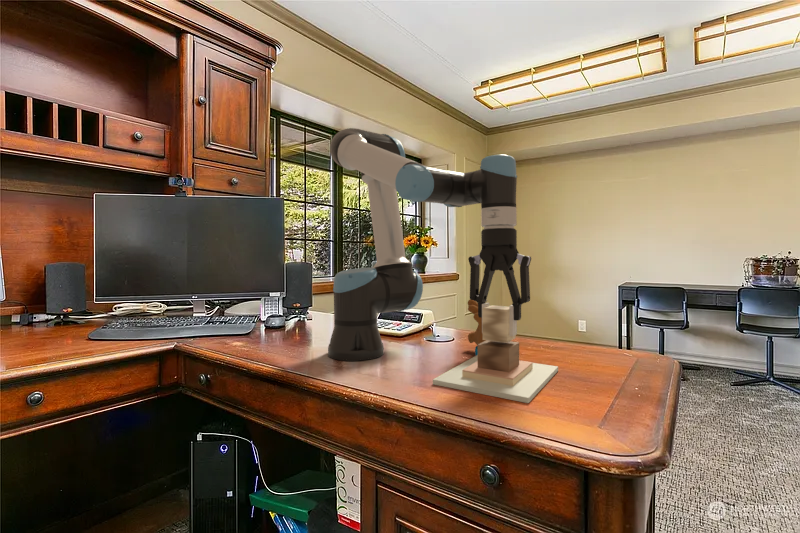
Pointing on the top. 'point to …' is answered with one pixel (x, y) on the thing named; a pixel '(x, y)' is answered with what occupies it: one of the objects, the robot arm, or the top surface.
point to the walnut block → (498, 355)
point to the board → (499, 379)
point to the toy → (478, 334)
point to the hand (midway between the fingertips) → (499, 333)
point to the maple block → (496, 324)
